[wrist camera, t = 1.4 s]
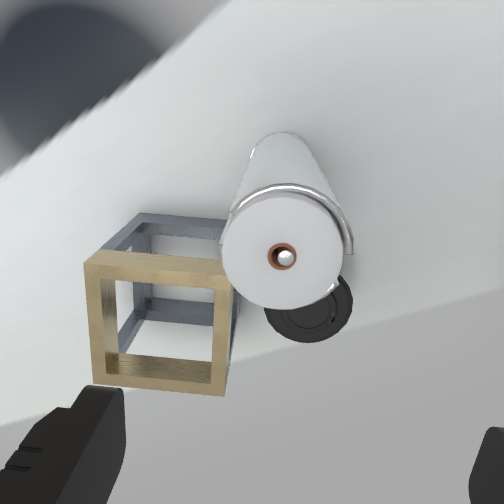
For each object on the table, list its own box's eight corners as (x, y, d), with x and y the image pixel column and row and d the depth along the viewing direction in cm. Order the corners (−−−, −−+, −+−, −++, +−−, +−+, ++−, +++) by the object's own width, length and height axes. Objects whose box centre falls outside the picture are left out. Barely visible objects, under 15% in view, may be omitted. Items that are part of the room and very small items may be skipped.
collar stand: (244, 221, 45) (231, 276, 32) (238, 314, 49) (224, 396, 36) (139, 212, 45) (83, 263, 32) (142, 305, 49) (93, 383, 36)
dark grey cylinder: (342, 294, 47) (358, 344, 38) (272, 303, 48) (270, 354, 39) (335, 226, 44) (351, 263, 35) (260, 237, 45) (256, 276, 36)
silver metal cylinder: (277, 209, 44) (276, 343, 21) (236, 162, 42) (185, 250, 19) (326, 168, 42) (386, 266, 19) (285, 118, 41) (296, 156, 17)
